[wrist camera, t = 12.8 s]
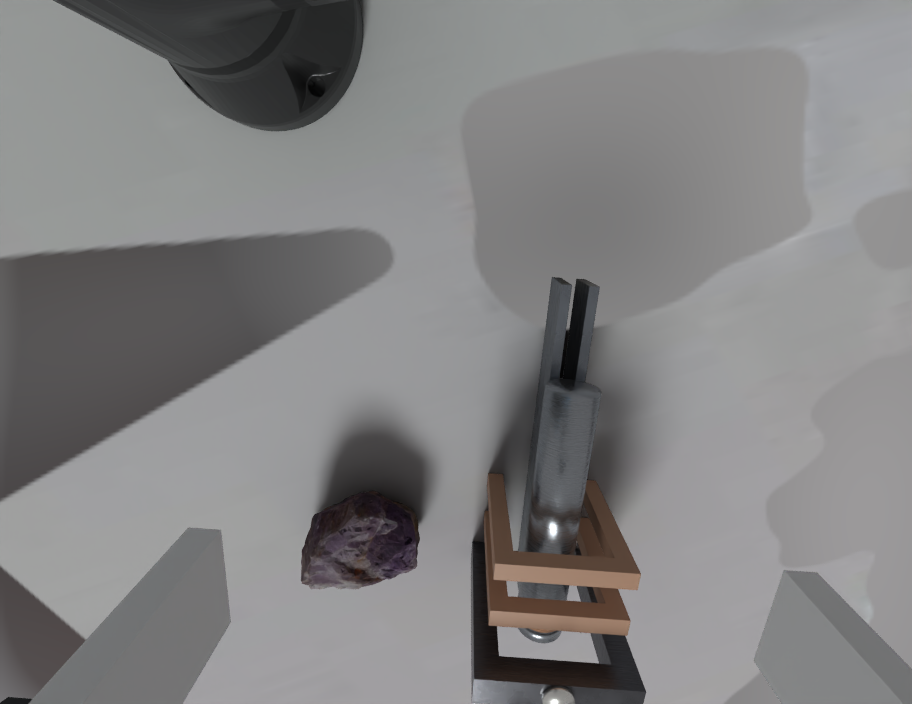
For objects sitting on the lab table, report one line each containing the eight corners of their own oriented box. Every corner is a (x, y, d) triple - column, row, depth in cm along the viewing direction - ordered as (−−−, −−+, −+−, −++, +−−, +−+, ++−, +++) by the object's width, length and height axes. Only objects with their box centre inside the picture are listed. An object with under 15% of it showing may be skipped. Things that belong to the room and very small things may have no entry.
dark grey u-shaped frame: (472, 541, 48) (474, 684, 33) (593, 550, 48) (648, 697, 33) (470, 560, 49) (471, 708, 34) (589, 569, 49) (642, 721, 34)
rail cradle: (551, 277, 40) (561, 284, 35) (585, 279, 40) (599, 286, 35) (515, 569, 49) (520, 603, 45) (543, 571, 49) (550, 605, 45)
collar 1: (488, 473, 46) (495, 563, 34) (595, 480, 45) (641, 574, 34) (487, 485, 46) (493, 579, 34) (593, 493, 46) (637, 590, 34)
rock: (422, 534, 50) (404, 456, 47) (428, 596, 41) (406, 507, 38) (317, 559, 49) (291, 481, 46) (302, 628, 41) (269, 538, 37)
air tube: (541, 377, 38) (550, 397, 34) (592, 380, 38) (608, 401, 34) (513, 601, 45) (518, 641, 41) (556, 604, 45) (566, 644, 40)
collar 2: (484, 510, 47) (490, 610, 35) (589, 518, 47) (630, 620, 35) (483, 522, 47) (488, 625, 35) (587, 530, 47) (627, 635, 35)
